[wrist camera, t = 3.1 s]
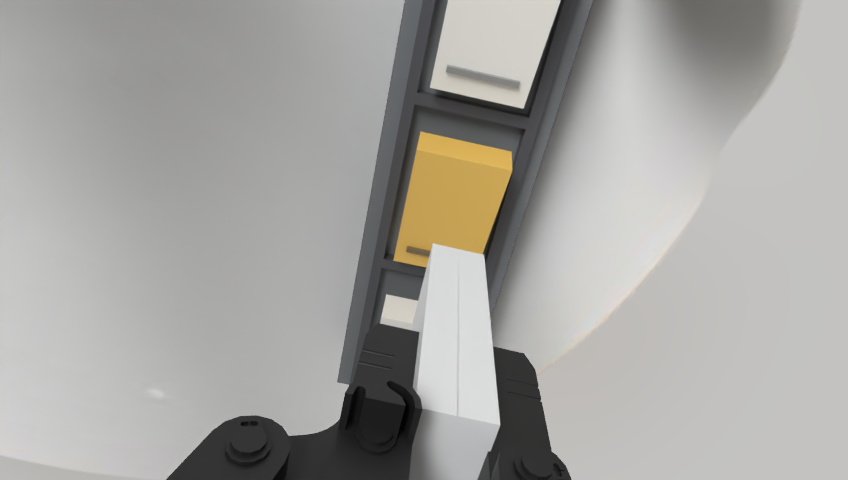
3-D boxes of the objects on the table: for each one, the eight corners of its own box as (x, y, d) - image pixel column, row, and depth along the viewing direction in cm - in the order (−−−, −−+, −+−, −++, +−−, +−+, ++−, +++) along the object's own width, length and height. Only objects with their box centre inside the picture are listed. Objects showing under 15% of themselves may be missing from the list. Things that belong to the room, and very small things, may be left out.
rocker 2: (468, -95, 23) (466, -86, 21) (575, -68, 23) (581, -58, 21) (432, 72, 28) (429, 89, 26) (521, 93, 28) (523, 110, 26)
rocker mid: (420, 131, 27) (416, 151, 25) (511, 151, 27) (512, 172, 26) (397, 240, 32) (392, 263, 30) (474, 256, 32) (473, 280, 31)
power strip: (447, -202, 26) (445, -239, 22) (624, -157, 26) (657, -185, 22) (347, 346, 41) (334, 390, 36) (461, 370, 41) (462, 415, 37)
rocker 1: (386, 294, 31) (380, 319, 30) (465, 310, 32) (463, 336, 30) (370, 368, 36) (365, 393, 35) (439, 381, 37) (436, 407, 35)
